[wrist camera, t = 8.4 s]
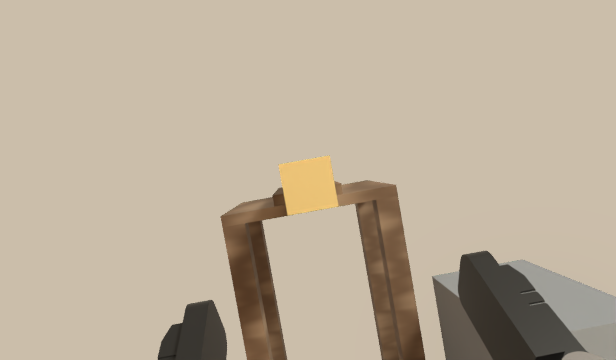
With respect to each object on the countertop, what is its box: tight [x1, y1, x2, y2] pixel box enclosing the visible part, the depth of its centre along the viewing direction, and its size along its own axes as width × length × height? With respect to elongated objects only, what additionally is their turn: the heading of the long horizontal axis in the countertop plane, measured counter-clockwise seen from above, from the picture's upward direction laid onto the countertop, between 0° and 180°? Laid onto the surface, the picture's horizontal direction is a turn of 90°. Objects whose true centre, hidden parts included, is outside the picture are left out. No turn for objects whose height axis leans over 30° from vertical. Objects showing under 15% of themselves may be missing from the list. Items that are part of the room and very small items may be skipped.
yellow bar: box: [279, 156, 338, 215], centre depth 37 cm, size 4×22×4 cm, turn 2°
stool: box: [221, 181, 425, 360], centre depth 42 cm, size 16×14×32 cm
